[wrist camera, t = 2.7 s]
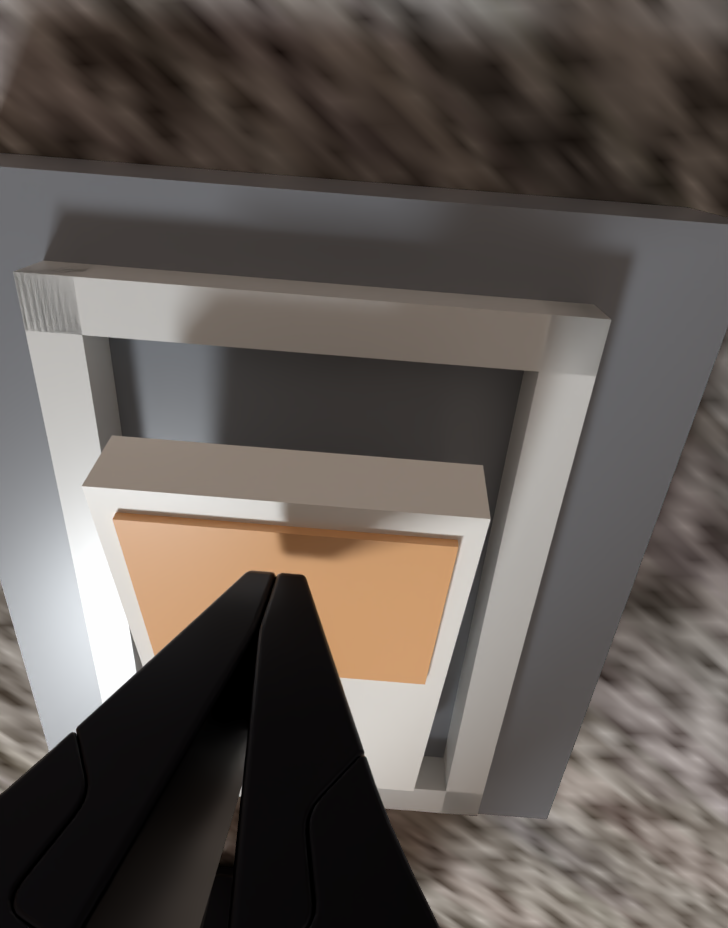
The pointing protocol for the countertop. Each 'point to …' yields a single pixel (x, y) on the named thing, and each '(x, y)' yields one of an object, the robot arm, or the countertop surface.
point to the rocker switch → (305, 561)
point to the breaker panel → (359, 407)
